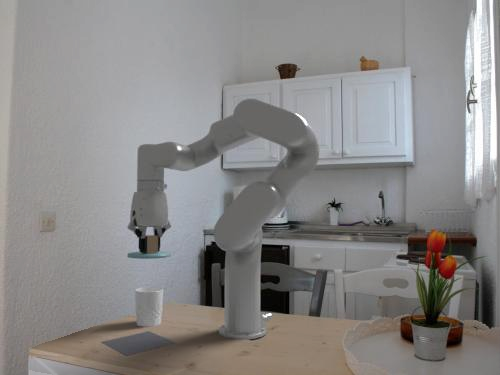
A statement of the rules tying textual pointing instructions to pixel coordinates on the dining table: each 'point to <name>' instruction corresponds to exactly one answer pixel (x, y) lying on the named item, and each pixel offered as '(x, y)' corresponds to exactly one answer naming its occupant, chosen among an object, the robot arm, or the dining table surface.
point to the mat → (138, 343)
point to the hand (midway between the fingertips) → (149, 251)
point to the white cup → (148, 306)
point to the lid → (150, 250)
